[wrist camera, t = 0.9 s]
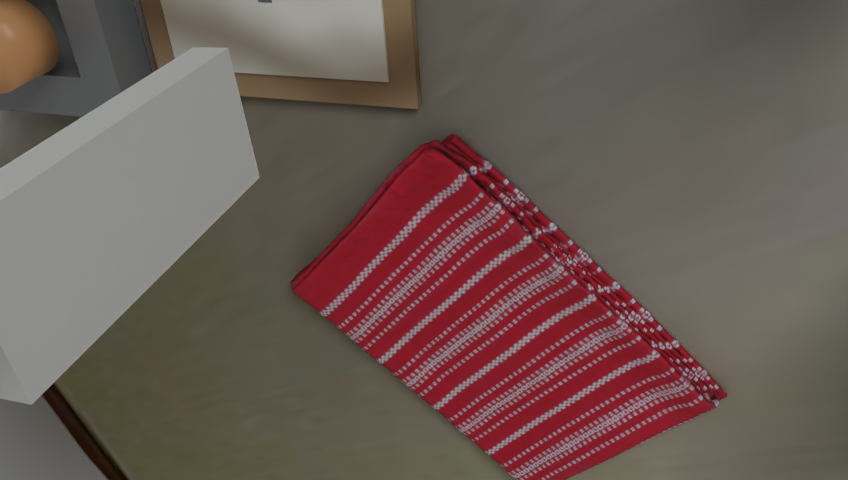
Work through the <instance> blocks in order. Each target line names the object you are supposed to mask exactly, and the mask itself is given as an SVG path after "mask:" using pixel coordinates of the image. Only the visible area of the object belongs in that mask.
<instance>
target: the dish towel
mask: <svg viewBox="0 0 848 480" xmlns="http://www.w3.org/2000/svg"><path fill="white" fill-rule="evenodd" d="M290 285H291V286H292V291H293V292H294V293H295V294H296V295H297V296H298V297H300V298H301V299H302V300H303V301H305V302H306V303H308V304H309V305H311V306H312V307H313V308H314V309H315V310H316V311H318V312H319V313H320V314H321V315H322V316H324V317H326V318H327V319H328V320H329V321H331V322H332V323H333V324H334V325H335V326H336V327H337V328H339V329H340V330H341V331H342V332H344V333H345V334H346V335H347V336H348V337H349V338H350V339H351V340H352V341H354V342H355V343H356V344H358V345H359V346H360V347H361V348H362V349H364V350H365V351H366V352H367V353H369V354H370V355H371V356H372V357H373V358H375V359H376V360H377V361H378V362H379V363H380V364H382V365H383V366H385V367H386V368H387V369H389V370H390V371H391V372H392V373H393V374H394V375H395V376H396V377H398V378H399V379H400V380H401V381H402V382H403V383H404V384H405V385H406V386H408V387H409V388H410V389H411V390H413V391H414V392H415V393H417V394H418V395H419V396H420V397H421V398H423V399H424V400H425V401H426V402H427V403H429V404H430V405H431V407H432V408H434V409H436V410H438V411H439V412H440V413H441V414H442V415H443V416H444V417H445V418H446V419H448V420H449V421H450V422H451V423H452V424H453V425H454V426H455V427H456V428H457V429H458V430H459V431H460V432H462V433H463V434H465V435H466V436H467V437H469V438H470V439H471V440H472V441H473V442H475V443H476V444H477V445H478V446H479V447H480V448H481V449H482V450H483V451H484V452H485V453H486V454H488V455H490V456H491V457H492V458H493V459H494V460H495V461H496V462H497V463H499V465H500V466H502V467H503V468H504V469H505V470H506V471H507V472H508V473H509V474H510V475H511V476H512V477H513V478H515V479H516V480H565V479H567V478H570V477H572V476H574V475H576V474H579V473H581V472H583V471H585V470H587V469H589V468H591V467H593V466H595V465H598V464H600V463H602V462H604V461H606V460H608V459H610V458H613V457H614V456H616V455H618V454H620V453H623V452H624V451H627V450H628V449H630V448H633V447H634V446H638V445H639V444H640V443H643V442H645V441H646V440H649V439H651V438H653V437H655V436H656V435H659V434H661V433H663V432H665V431H667V430H669V429H671V428H673V427H676V426H678V425H680V424H683V423H685V422H688V421H690V420H692V419H694V418H696V417H698V416H699V415H701V414H702V413H706V412H708V411H710V410H713V409H715V408H716V407H717V406H718V405H719V403H720V399H723V398H726V397H727V393H726V392H725V391H724V390H722V388H721V387H720V386H719V385H718V384H717V382H716V381H714V380H713V379H712V377H711V376H710V375H709V374H708V372H707V370H705V369H704V368H703V367H702V366H701V365H700V364H699V363H698V362H697V361H696V360H695V359H694V358H693V357H692V356H691V355H690V354H689V353H688V352H687V351H686V350H685V349H684V348H683V347H682V346H681V345H680V343H679V342H678V341H677V340H676V339H675V338H673V337H672V336H671V335H670V334H669V333H668V332H667V331H666V330H665V329H664V328H663V327H662V326H661V325H660V324H659V323H658V322H657V321H656V320H655V319H654V318H653V316H652V315H651V314H650V313H649V312H648V311H647V310H646V309H644V308H643V307H642V306H641V305H640V304H639V303H638V302H637V301H636V300H635V299H634V298H633V297H632V296H631V295H629V294H628V293H627V292H626V291H625V290H624V289H623V288H622V287H621V286H620V285H619V283H618V282H616V281H614V280H613V279H612V278H611V277H609V276H608V275H607V274H606V273H605V272H604V271H603V270H602V269H601V268H600V267H599V266H598V265H597V264H596V263H595V262H593V260H592V259H591V258H590V257H589V256H588V255H587V253H585V252H584V251H582V250H581V249H580V248H579V247H578V246H576V244H575V243H574V242H573V241H572V240H571V239H570V238H569V237H568V236H566V235H565V234H564V233H563V232H562V231H561V230H560V229H559V228H558V227H557V226H556V225H555V224H554V223H553V222H552V221H550V220H549V219H548V218H547V217H546V216H545V215H544V214H543V213H542V212H541V211H540V210H539V209H538V208H537V207H536V206H535V205H534V204H533V203H532V202H531V201H530V200H529V199H528V198H527V197H526V196H525V195H524V194H523V193H522V192H521V191H520V190H519V189H517V188H516V187H515V186H513V185H512V184H511V183H510V182H509V181H508V180H507V179H506V178H505V177H504V176H503V175H502V174H501V173H500V172H499V171H498V170H497V169H495V168H494V167H493V166H492V165H491V163H489V162H488V161H486V160H485V159H483V158H482V157H481V156H479V155H478V154H477V153H476V152H474V151H473V150H472V149H471V148H470V147H469V146H468V145H467V144H466V143H465V142H464V141H463V140H461V139H460V138H459V137H458V136H457V135H454V134H451V135H449V136H448V137H446V139H445V140H444V141H442V142H441V143H440V142H439V141H437V140H434V141H431V142H429V143H426V144H423V145H421V146H420V147H419V148H418V149H416V150H415V151H414V152H413V153H412V154H411V155H410V156H409V157H408V158H407V159H406V160H404V161H403V162H402V163H401V164H400V165H399V166H398V167H397V168H396V169H395V170H394V172H393V173H392V174H391V175H390V176H389V177H388V178H387V179H386V180H385V181H384V182H383V183H382V185H381V186H380V187H379V188H378V190H377V191H376V192H375V193H374V194H373V196H372V197H371V198H370V200H369V201H368V202H367V203H366V205H365V206H364V207H363V209H362V210H361V211H360V213H359V214H358V215H357V216H356V218H355V219H354V220H353V222H352V223H351V224H350V225H349V226H348V227H347V228H346V229H345V230H344V231H343V232H342V233H340V234H339V235H338V236H337V238H336V239H335V240H334V241H333V242H332V243H331V244H330V245H329V246H328V247H327V248H326V249H325V250H324V251H323V252H322V253H321V254H320V255H319V256H318V257H317V258H316V259H315V260H314V261H313V262H312V263H311V264H309V265H308V266H307V267H305V268H304V269H303V270H302V271H300V272H299V273H298V274H297V275H296V276H295V278H294V279H293V280H292V281H291V283H290Z"/></svg>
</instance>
